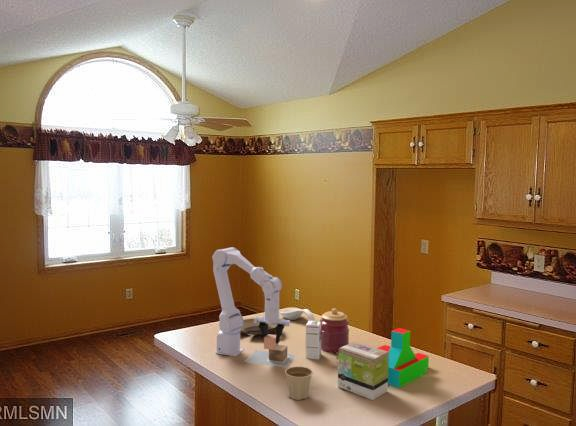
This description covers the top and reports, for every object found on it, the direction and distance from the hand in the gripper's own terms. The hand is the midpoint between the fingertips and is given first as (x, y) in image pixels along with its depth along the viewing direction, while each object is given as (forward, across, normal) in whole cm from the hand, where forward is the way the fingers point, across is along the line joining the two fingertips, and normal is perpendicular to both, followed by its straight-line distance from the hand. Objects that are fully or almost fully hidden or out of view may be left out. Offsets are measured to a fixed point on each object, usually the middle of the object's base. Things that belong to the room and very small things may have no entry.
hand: (271, 341), depth 198 cm
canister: (+9, +20, +24) cm, 33 cm away
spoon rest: (+9, -6, +59) cm, 60 cm away
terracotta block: (+2, 0, 0) cm, 2 cm away
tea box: (+9, +39, -13) cm, 42 cm away
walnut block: (+8, +1, +4) cm, 9 cm away
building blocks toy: (+9, +48, +8) cm, 49 cm away
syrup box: (+9, +14, +11) cm, 20 cm away
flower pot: (+9, +19, -26) cm, 33 cm away
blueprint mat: (+8, -2, +3) cm, 9 cm away
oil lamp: (+9, -21, +34) cm, 41 cm away
